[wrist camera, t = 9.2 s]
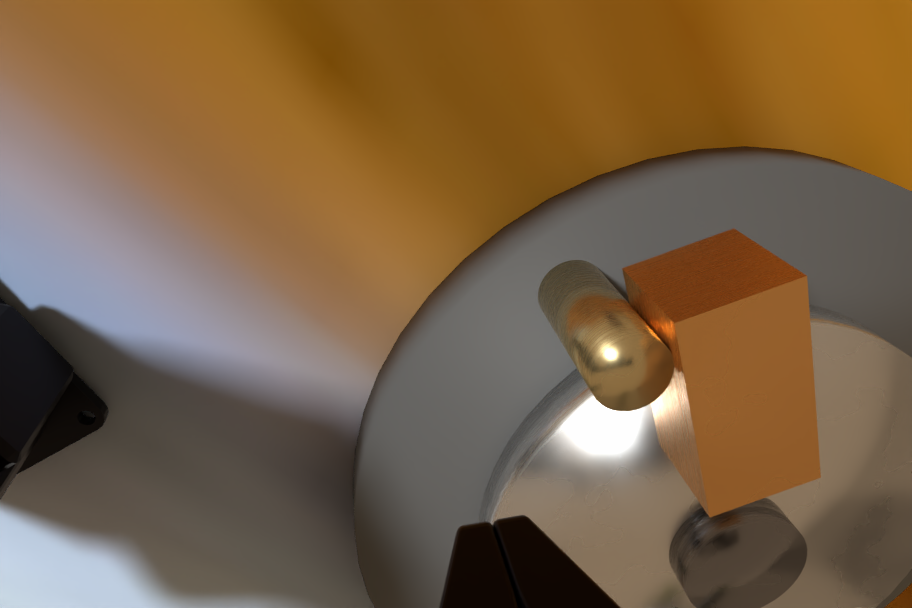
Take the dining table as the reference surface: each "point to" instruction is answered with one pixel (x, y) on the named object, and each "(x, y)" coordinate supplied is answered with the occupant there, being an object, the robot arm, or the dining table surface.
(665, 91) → the dining table surface
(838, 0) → the dining table surface
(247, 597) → the dining table surface
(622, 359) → the dowel
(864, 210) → the base plate
